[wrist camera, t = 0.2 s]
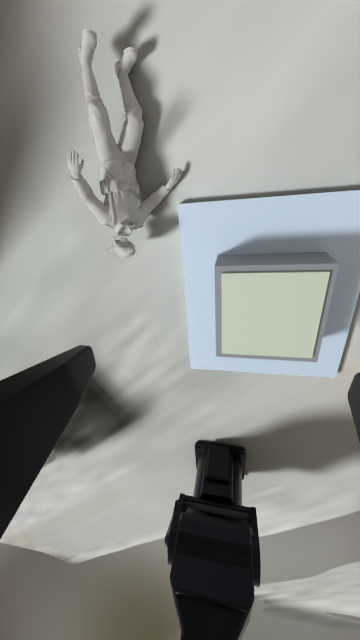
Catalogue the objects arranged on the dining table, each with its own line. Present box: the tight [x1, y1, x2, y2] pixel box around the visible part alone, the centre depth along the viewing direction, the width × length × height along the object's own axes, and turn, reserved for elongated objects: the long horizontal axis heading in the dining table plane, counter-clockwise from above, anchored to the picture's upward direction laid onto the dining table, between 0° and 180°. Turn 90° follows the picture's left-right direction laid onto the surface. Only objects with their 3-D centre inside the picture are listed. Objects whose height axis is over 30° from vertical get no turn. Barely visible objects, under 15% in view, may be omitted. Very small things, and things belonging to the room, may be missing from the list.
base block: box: [214, 252, 339, 362], centre depth 20 cm, size 8×8×3 cm
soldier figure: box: [67, 28, 182, 258], centre depth 18 cm, size 8×5×12 cm
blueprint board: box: [177, 190, 360, 378], centre depth 22 cm, size 16×14×1 cm
